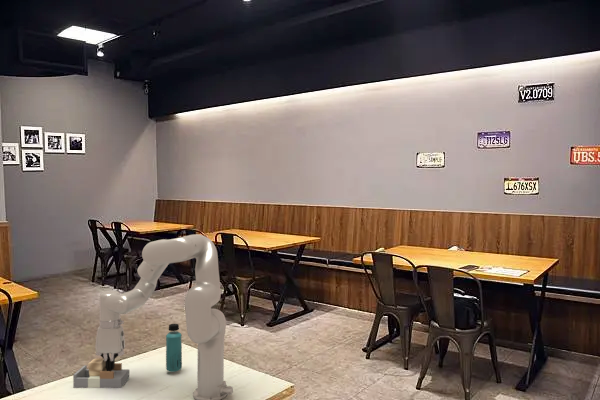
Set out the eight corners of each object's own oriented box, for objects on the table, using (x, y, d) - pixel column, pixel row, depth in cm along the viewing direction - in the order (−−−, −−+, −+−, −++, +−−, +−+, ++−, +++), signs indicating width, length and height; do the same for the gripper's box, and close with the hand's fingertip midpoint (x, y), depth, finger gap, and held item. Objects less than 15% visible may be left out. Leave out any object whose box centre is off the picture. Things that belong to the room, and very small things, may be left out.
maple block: (107, 370, 183) (106, 357, 183) (102, 375, 178) (101, 362, 178) (95, 371, 183) (93, 358, 183) (89, 376, 178) (88, 363, 178)
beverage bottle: (177, 376, 188) (177, 327, 187) (162, 374, 189) (162, 326, 189) (184, 369, 194) (184, 322, 194) (170, 368, 196) (170, 321, 195)
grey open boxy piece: (129, 378, 186) (129, 363, 185) (120, 387, 177) (120, 372, 176) (84, 377, 185) (84, 363, 185) (73, 387, 176) (73, 372, 176)
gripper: (132, 320, 184) (132, 366, 185) (95, 320, 184) (94, 366, 185) (125, 326, 177) (125, 374, 177) (86, 326, 177) (86, 373, 177)
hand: (110, 369), depth 181 cm, fingers closed
